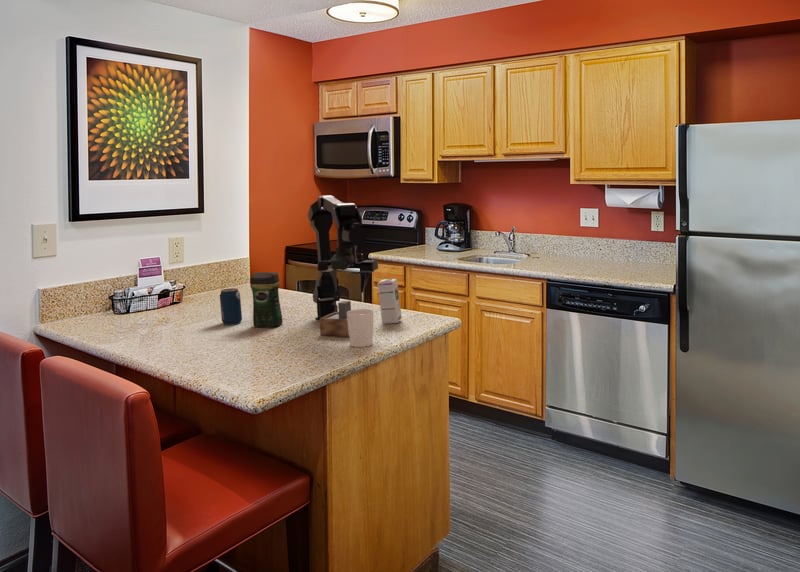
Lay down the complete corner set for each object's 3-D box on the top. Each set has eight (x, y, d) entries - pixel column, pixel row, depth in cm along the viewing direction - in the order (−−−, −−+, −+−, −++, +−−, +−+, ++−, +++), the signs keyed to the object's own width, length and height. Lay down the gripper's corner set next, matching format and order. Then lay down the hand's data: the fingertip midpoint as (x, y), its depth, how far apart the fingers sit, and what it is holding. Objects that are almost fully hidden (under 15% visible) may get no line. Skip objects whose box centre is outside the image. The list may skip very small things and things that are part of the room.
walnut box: (320, 335, 195) (319, 318, 194) (335, 328, 204) (334, 311, 203) (354, 338, 191) (353, 320, 190) (367, 330, 200) (367, 313, 199)
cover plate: (326, 322, 195) (325, 303, 194) (336, 317, 202) (335, 299, 201) (354, 324, 191) (353, 304, 190) (364, 319, 198) (363, 300, 197)
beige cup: (359, 340, 188) (357, 308, 186) (379, 343, 184) (378, 310, 182) (342, 346, 182) (341, 313, 180) (363, 349, 177) (362, 315, 176)
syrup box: (398, 323, 207) (394, 280, 205) (381, 323, 208) (377, 281, 206) (401, 319, 213) (397, 278, 210) (385, 320, 214) (381, 279, 212)
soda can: (246, 321, 219) (243, 288, 217) (233, 326, 213) (230, 291, 211) (230, 320, 222) (228, 287, 220) (217, 324, 216) (215, 291, 214)
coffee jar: (285, 323, 214) (282, 270, 211) (276, 328, 207) (272, 274, 204) (260, 322, 216) (256, 270, 213) (250, 328, 209) (245, 274, 206)
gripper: (308, 246, 188) (311, 296, 191) (365, 246, 183) (367, 297, 186) (323, 242, 199) (325, 290, 202) (377, 242, 193) (379, 291, 196)
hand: (348, 292), depth 196 cm, fingers open, 9 cm apart
